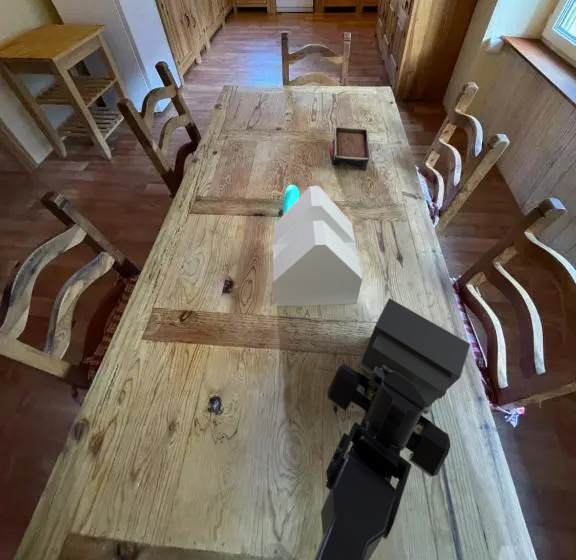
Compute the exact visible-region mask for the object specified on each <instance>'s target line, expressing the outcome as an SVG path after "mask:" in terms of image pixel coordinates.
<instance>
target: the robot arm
mask: <svg viewBox="0 0 576 560" xmlns="http://www.w3.org/2000/svg"><path fill="white" fill-rule="evenodd" d="M371 393H373V395H372V397H371V400H369V399H368V398H369V396H370V394H371ZM326 395H327V400H328V401H330V402H331V403H332V404H334V405H335V406H336V407H337V408H339V409H340V410H342V411H343V412H344V413H346V412H347V410H350V411H351V412H359V413H360V414H361V415H363V416H362V419H361V421H360V424H359V423H358V422H357V421H354V422H353V425H352V427H351V429H350V431H349V432H348V434H347V433H346V432H343V434H342V436H341V438H340V441H339V442H338V444H337V447H336V449H335V451H334V453H333V455H332V457H331V460H330V461H329V464H328V466H327V468H326V470H325V476H326V480H327V481H326V483H325V488H327V489H328V490H329V491H328V494H327V496H326V499H325V500H324V503H323V506H322V508H321V510H320V518H321V526H322V538H321V541H320V543H319V546H318V549H317V551H316V554H315V557H314V559H313V560H370V559H371V558H372V556H373V554H374V553H375V551H376V549H377V547H378V546H379V544H380V542H381V540H382V539H383V540H386V539H388V537H389V535H390V533H391V530H392V529H393V525H394V524H395V523H394V522H395V520H396V517H397V513H398V510H399V507H400V504H401V501H402V498H403V494H404V491H405V488H406V484H407V482H408V478H409V475H410V471H411V469H412V464H413V465H414V466H415V467H417V468H418V469H419V470H421V471H422V472H423V473H424V474H425V475H427V476H429V477H430V478H431V477H435V476H438V475H439V472H441V471H440V470H441V468H442V467H443V465H444V462H445V460H446V459H447V457H448V454H449V453H450V450H451V438H450V436H449V434H448V433H447V432H445V431H444V430H443V429H441V428H440V427H438V426H436V425H435V424H434V423H433V421H431V420H429V419H428V418H427V417H425V416H424V415H423V412H424V408H425V403H424V401H423V399H422V397H421V396H420V394H419V393H418V389H417V387H416V385H415V383H414V382H413V381H411V380H409V379H408V378H406V377H405V376H403V375H402V374H400V373H399V372H397V371H396V370H394V369H390V368H388V367H387V366H385V365H384V364H383V367H382V368H379V367H377V366H376V367H375V369H374V371H373V373H372V375H370V378H369V377H367V376H366V375H364V374H363V373H361V371H357V370H356V369H355V368H352V367H351V366H349V365H348V364H347V363H341V364H340V365H339V367H338V368H337V370H336V372H335V375H334V376H333V379H332V381H331V383H330V385H329V388H328V390H327V392H326ZM350 444H351V446H350ZM349 447H350V448H349ZM348 448H349V451H348ZM405 449H407V450H409V451H410V454H409V456H408V460H407V459H405V458H404V457H402V456H401V455H400V454H401V452H402V451H403V450H405ZM347 451H348V452H347ZM345 455H346V456H345ZM411 463H412V464H411ZM393 478H395V479H397V483H396V486H395V487H394V486H393V484H392V483H391V482H392V479H393Z"/></svg>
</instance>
